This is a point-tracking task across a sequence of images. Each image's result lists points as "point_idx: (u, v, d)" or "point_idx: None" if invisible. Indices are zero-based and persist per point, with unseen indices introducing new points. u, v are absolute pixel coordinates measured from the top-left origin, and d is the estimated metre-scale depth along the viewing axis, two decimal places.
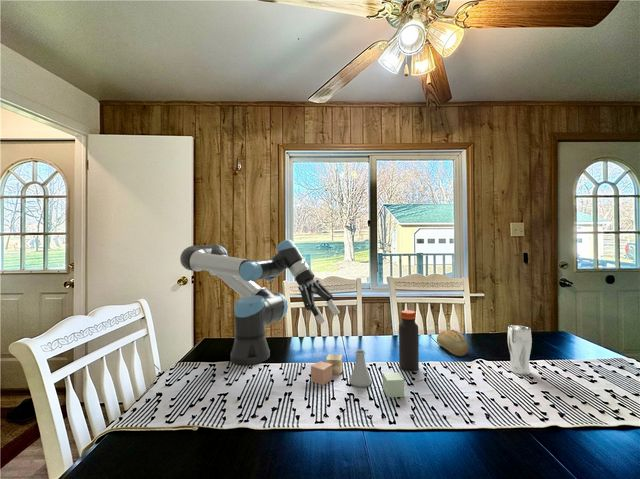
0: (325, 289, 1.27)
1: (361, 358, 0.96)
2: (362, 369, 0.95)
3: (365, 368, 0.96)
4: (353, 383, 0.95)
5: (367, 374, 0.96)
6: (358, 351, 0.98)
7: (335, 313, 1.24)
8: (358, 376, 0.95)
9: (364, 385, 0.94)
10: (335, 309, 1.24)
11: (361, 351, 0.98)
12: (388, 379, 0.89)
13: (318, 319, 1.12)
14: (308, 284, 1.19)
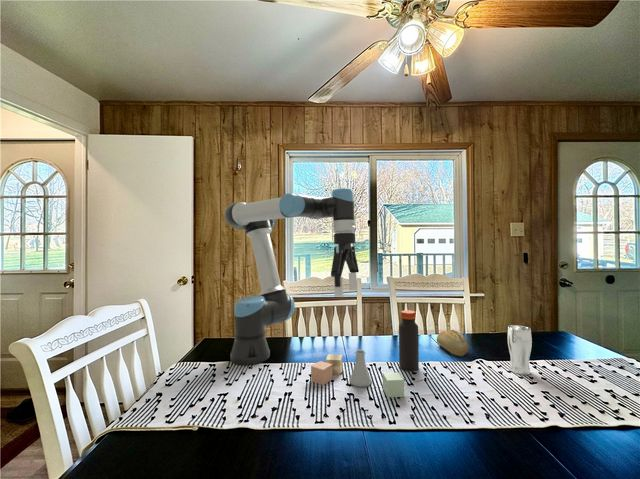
0: (355, 259, 1.12)
1: (361, 358, 0.96)
2: (362, 369, 0.95)
3: (365, 368, 0.96)
4: (353, 383, 0.95)
5: (367, 374, 0.96)
6: (358, 351, 0.98)
7: (351, 288, 1.11)
8: (358, 376, 0.95)
9: (364, 385, 0.94)
10: (354, 285, 1.11)
11: (361, 351, 0.98)
12: (388, 379, 0.89)
13: (336, 291, 0.99)
14: (345, 249, 1.03)
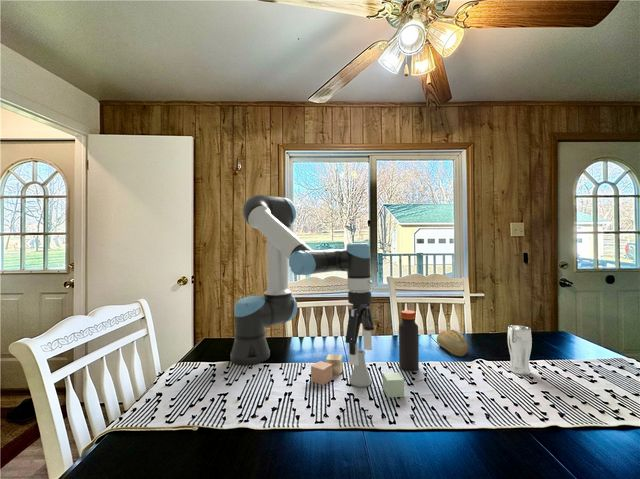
0: (370, 316, 1.03)
1: (361, 358, 0.96)
2: (362, 369, 0.95)
3: (365, 368, 0.96)
4: (353, 383, 0.95)
5: (367, 374, 0.96)
6: (358, 351, 0.98)
7: (366, 347, 1.03)
8: (358, 376, 0.95)
9: (364, 385, 0.94)
10: (369, 344, 1.02)
11: (361, 351, 0.98)
12: (388, 379, 0.89)
13: (351, 358, 0.91)
14: (360, 310, 0.94)
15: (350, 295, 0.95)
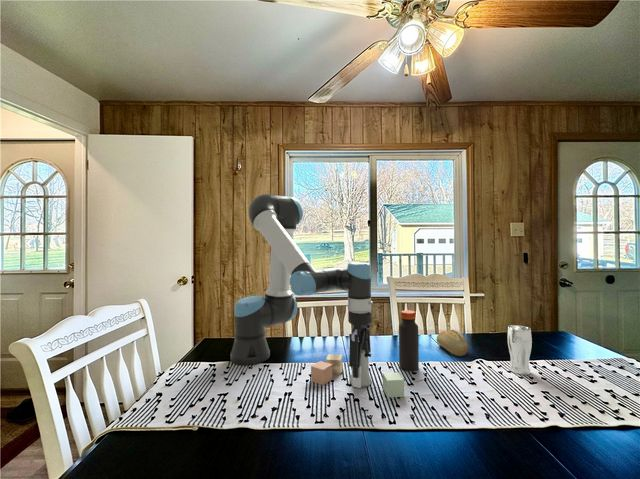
0: (369, 340, 1.02)
1: (361, 358, 0.96)
2: (362, 369, 0.95)
3: (365, 368, 0.96)
4: None
5: (367, 374, 0.96)
6: None
7: None
8: None
9: (364, 385, 0.94)
10: None
11: (361, 351, 0.98)
12: (388, 379, 0.88)
13: (354, 380, 0.94)
14: (360, 330, 0.94)
15: (350, 315, 0.95)
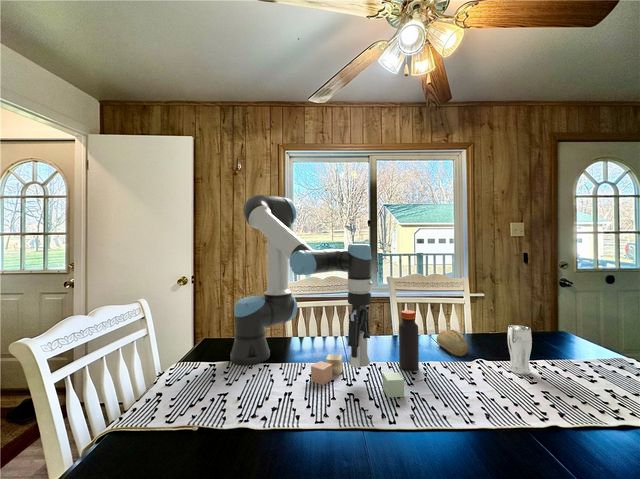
0: (368, 322, 1.02)
1: (360, 339, 0.96)
2: (361, 350, 0.95)
3: (364, 349, 0.96)
4: None
5: (366, 354, 0.96)
6: None
7: None
8: None
9: (362, 365, 0.94)
10: None
11: (360, 332, 0.98)
12: (388, 379, 0.88)
13: (352, 360, 0.94)
14: (360, 310, 0.94)
15: (350, 296, 0.95)
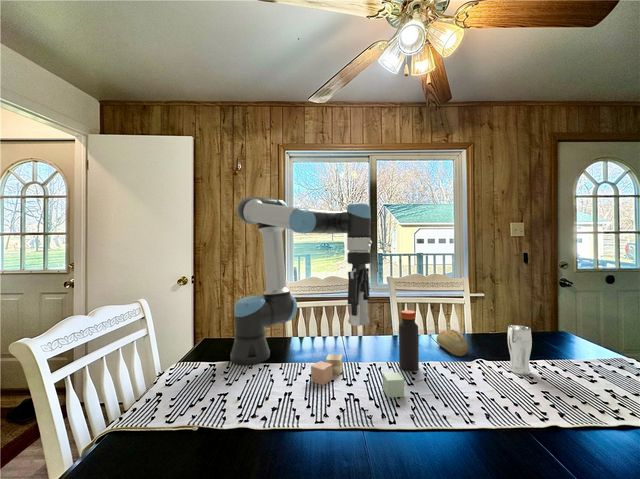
0: (368, 283, 1.02)
1: (360, 298, 0.96)
2: (361, 309, 0.95)
3: (364, 308, 0.96)
4: None
5: (366, 314, 0.96)
6: None
7: None
8: None
9: (362, 324, 0.94)
10: None
11: (360, 292, 0.98)
12: (388, 379, 0.88)
13: (352, 319, 0.94)
14: (359, 269, 0.94)
15: (349, 255, 0.95)
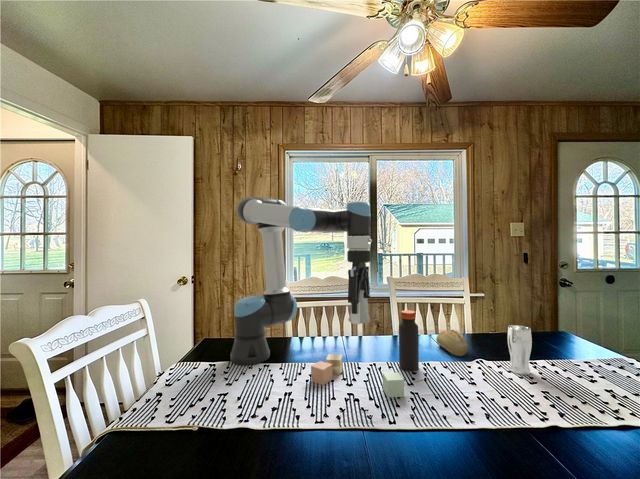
0: (368, 282, 1.02)
1: (360, 296, 0.96)
2: (361, 307, 0.95)
3: (364, 306, 0.96)
4: None
5: (366, 312, 0.96)
6: None
7: None
8: None
9: (363, 322, 0.94)
10: None
11: (360, 291, 0.98)
12: (388, 379, 0.88)
13: (353, 317, 0.94)
14: (359, 267, 0.94)
15: (349, 253, 0.95)
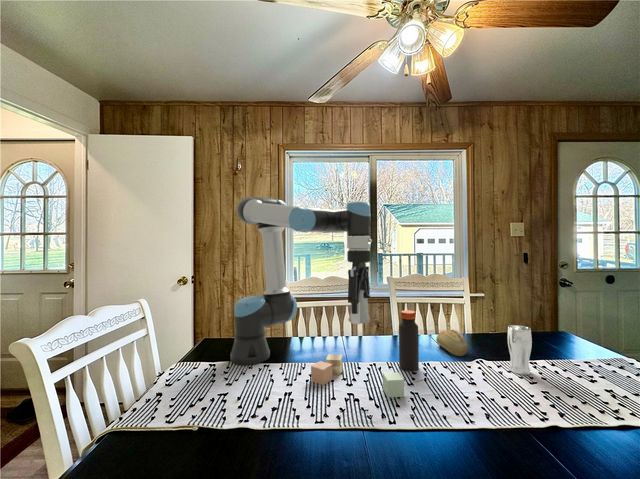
0: (368, 282, 1.02)
1: (360, 296, 0.96)
2: (361, 307, 0.95)
3: (364, 306, 0.96)
4: None
5: (366, 312, 0.96)
6: None
7: None
8: None
9: (363, 322, 0.94)
10: None
11: (360, 291, 0.98)
12: (388, 379, 0.88)
13: (353, 317, 0.94)
14: (359, 267, 0.94)
15: (349, 253, 0.95)
